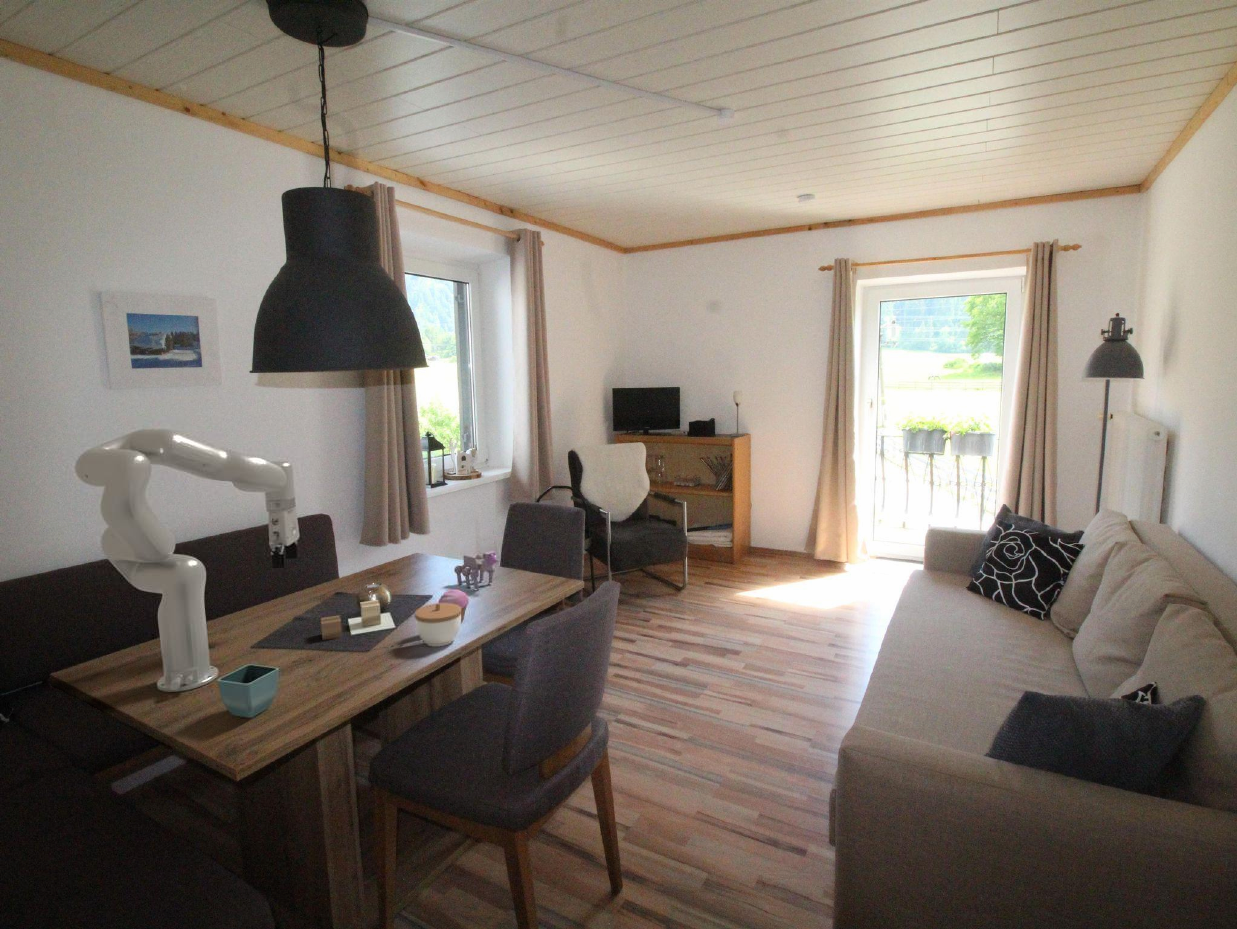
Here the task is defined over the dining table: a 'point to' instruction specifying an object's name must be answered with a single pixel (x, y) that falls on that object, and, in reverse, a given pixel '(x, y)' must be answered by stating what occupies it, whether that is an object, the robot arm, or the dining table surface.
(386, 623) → the plate
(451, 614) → the lidded bowl
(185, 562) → the robot arm
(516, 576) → the dining table surface
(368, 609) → the maple block
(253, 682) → the flower pot
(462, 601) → the cupcake
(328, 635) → the walnut block
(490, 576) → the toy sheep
